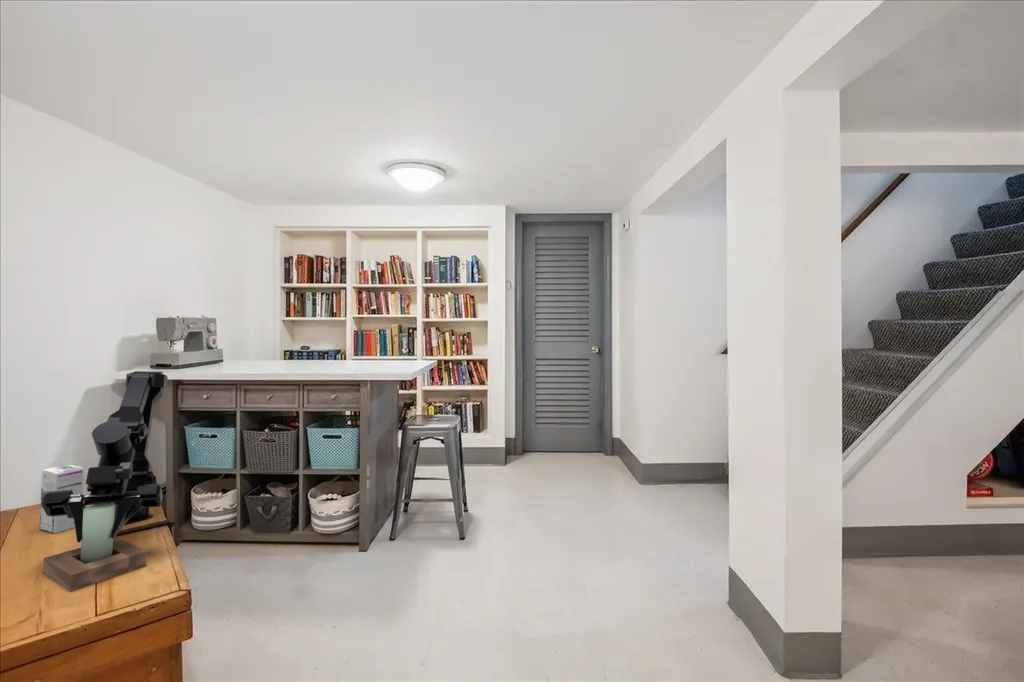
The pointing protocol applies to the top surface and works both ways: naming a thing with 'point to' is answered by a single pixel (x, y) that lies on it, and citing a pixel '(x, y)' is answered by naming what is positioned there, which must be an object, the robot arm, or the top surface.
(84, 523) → the peg
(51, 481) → the syrup box
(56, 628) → the top surface
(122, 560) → the pocket block
